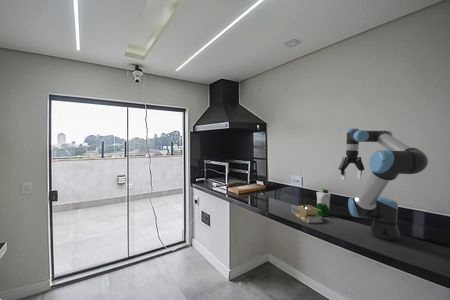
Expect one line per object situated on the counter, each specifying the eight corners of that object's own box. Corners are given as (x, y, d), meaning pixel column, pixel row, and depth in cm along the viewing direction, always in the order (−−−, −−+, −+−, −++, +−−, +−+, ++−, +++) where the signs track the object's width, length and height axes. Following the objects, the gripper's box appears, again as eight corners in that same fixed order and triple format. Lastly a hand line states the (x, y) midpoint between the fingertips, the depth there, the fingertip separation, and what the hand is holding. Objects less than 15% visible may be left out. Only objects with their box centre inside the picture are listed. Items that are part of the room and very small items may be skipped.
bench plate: (322, 222, 150) (322, 220, 150) (307, 223, 148) (307, 221, 148) (307, 213, 169) (307, 211, 169) (293, 214, 167) (293, 212, 167)
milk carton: (331, 215, 165) (332, 191, 164) (323, 217, 161) (323, 191, 160) (322, 212, 173) (323, 188, 172) (314, 213, 169) (314, 189, 169)
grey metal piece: (321, 220, 150) (321, 210, 150) (309, 221, 148) (309, 211, 148) (306, 211, 169) (306, 203, 169) (294, 212, 167) (295, 203, 166)
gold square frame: (317, 218, 155) (317, 209, 154) (305, 219, 153) (305, 209, 152) (309, 213, 164) (309, 205, 164) (298, 214, 162) (298, 205, 162)
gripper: (362, 150, 156) (361, 178, 157) (333, 149, 150) (332, 178, 151) (371, 150, 149) (369, 180, 149) (341, 150, 143) (340, 180, 144)
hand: (351, 179), depth 150 cm, fingers open, 13 cm apart
